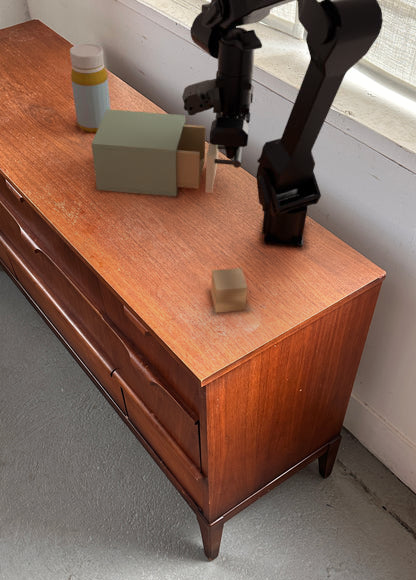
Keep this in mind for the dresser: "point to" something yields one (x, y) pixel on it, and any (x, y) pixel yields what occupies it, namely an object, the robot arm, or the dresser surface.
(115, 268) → the dresser surface
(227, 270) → the block
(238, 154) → the drawer
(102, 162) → the cabinet
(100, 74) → the bottle
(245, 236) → the dresser surface
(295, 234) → the robot arm
